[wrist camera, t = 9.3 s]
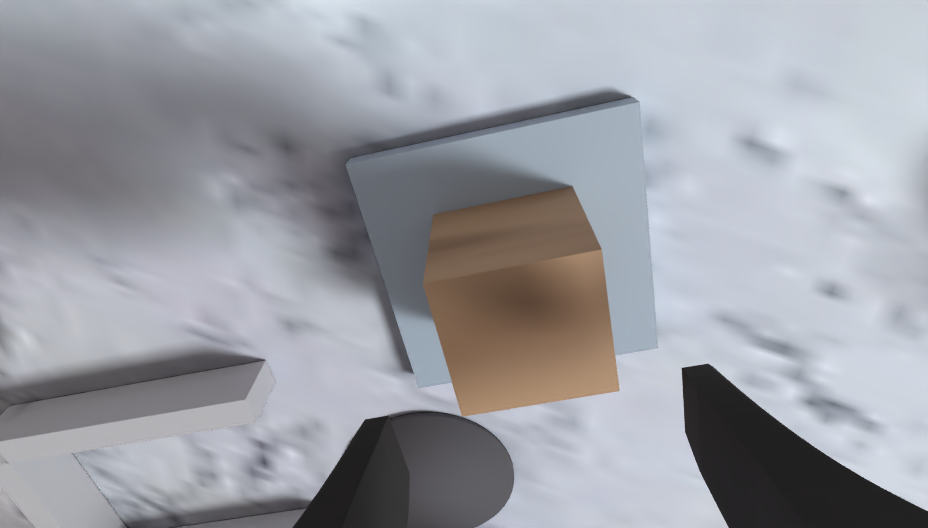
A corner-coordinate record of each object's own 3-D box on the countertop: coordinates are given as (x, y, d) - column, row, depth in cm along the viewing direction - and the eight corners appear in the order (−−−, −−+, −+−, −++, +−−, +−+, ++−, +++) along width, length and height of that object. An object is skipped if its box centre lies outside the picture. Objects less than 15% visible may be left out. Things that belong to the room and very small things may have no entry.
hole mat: (526, 518, 29) (526, 523, 29) (375, 539, 30) (374, 544, 29) (496, 399, 25) (496, 404, 25) (326, 427, 26) (324, 432, 26)
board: (652, 336, 24) (657, 348, 23) (420, 375, 25) (418, 388, 24) (633, 96, 19) (639, 101, 18) (349, 157, 20) (345, 165, 19)
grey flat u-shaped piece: (341, 519, 29) (330, 565, 27) (121, 551, 30) (94, 597, 28) (265, 360, 24) (245, 399, 22) (10, 405, 26) (-34, 447, 24)
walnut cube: (589, 305, 22) (619, 391, 18) (463, 328, 23) (462, 416, 18) (572, 186, 20) (601, 249, 15) (433, 214, 20) (422, 283, 16)
